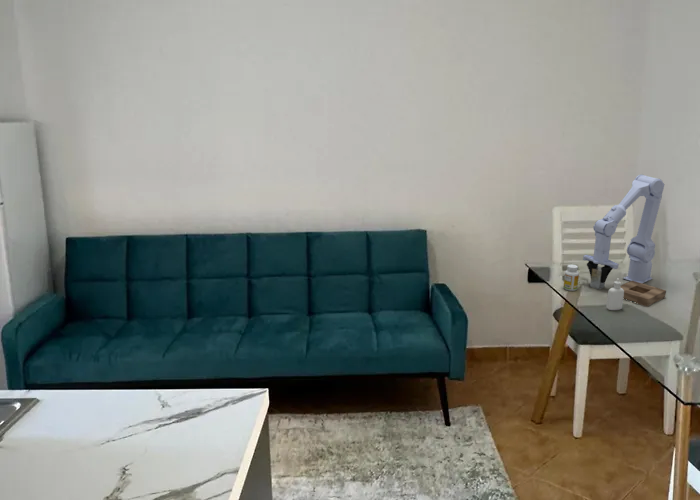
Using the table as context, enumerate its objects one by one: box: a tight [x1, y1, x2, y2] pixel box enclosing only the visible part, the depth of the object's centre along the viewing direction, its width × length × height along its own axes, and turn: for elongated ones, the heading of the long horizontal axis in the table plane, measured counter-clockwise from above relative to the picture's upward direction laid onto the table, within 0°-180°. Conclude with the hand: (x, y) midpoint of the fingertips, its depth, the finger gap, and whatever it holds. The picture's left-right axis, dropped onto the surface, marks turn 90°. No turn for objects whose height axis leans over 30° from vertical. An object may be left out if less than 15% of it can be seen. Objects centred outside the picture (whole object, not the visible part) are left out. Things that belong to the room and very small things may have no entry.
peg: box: [589, 265, 606, 290], centre depth 261 cm, size 4×4×8 cm
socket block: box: [620, 281, 667, 308], centre depth 252 cm, size 14×14×3 cm
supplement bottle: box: [563, 264, 580, 292], centre depth 260 cm, size 5×5×10 cm
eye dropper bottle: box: [605, 278, 624, 311], centre depth 240 cm, size 4×6×12 cm
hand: (598, 280), depth 262 cm, fingers closed on peg, 4 cm apart
